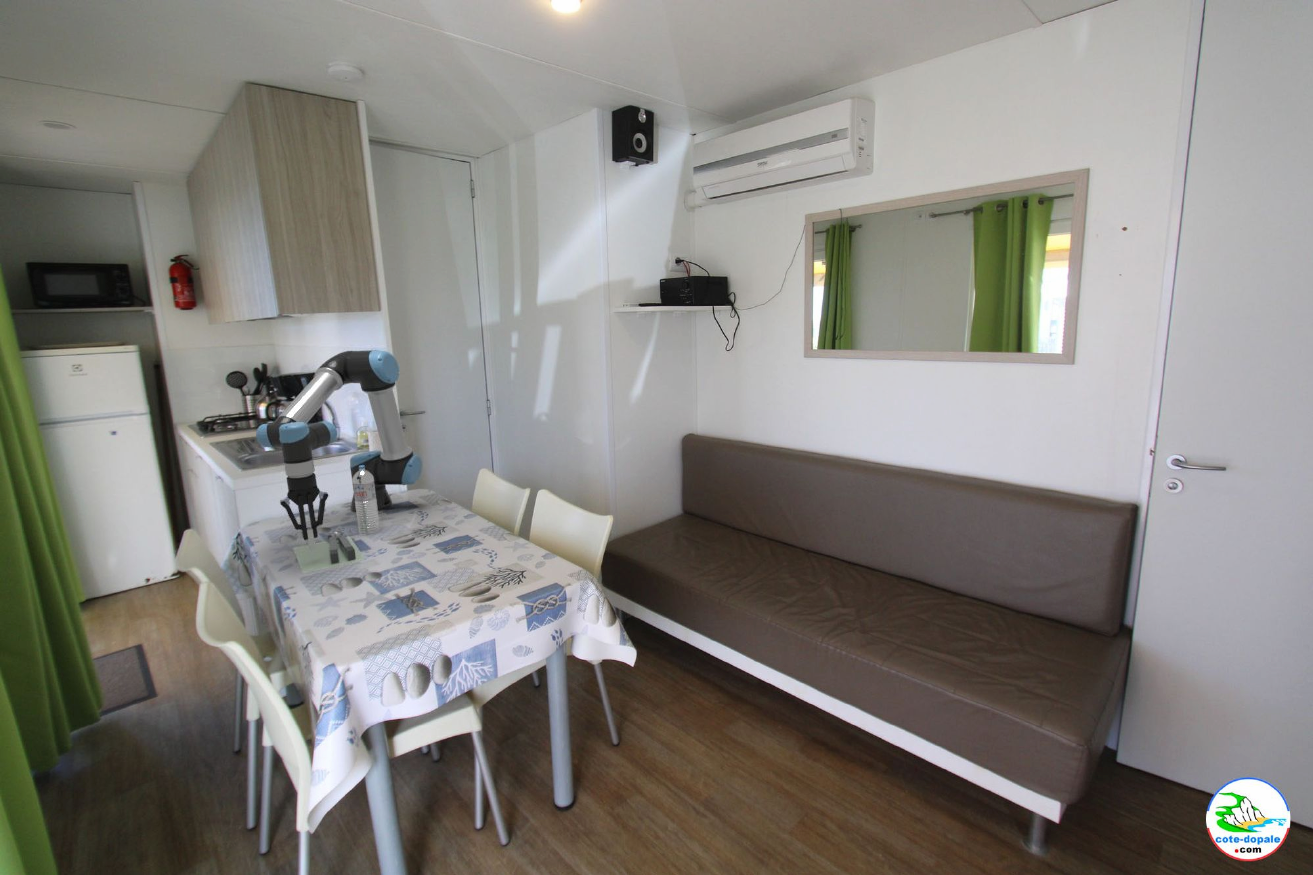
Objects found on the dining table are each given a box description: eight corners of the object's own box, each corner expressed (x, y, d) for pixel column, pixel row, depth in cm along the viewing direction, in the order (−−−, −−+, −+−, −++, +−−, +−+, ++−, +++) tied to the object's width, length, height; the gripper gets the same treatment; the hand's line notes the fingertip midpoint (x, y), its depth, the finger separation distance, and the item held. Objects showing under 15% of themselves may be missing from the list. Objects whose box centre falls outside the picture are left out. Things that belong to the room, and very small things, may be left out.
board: (349, 539, 210) (349, 536, 210) (365, 562, 190) (365, 559, 189) (293, 551, 200) (292, 547, 200) (303, 577, 180) (302, 573, 180)
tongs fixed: (342, 537, 209) (341, 527, 208) (356, 559, 190) (355, 547, 189) (327, 540, 206) (326, 530, 205) (340, 562, 187) (338, 551, 186)
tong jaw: (337, 544, 202) (336, 536, 201) (339, 562, 187) (337, 553, 186) (330, 545, 201) (329, 537, 200) (331, 563, 186) (330, 554, 185)
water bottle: (354, 536, 213) (346, 467, 208) (371, 530, 219) (363, 462, 214) (367, 539, 210) (359, 469, 205) (384, 533, 216) (376, 464, 211)
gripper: (323, 468, 189) (333, 539, 194) (274, 475, 181) (286, 550, 186) (327, 473, 183) (337, 546, 188) (276, 481, 175) (289, 557, 180)
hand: (312, 548), depth 187 cm, fingers closed
